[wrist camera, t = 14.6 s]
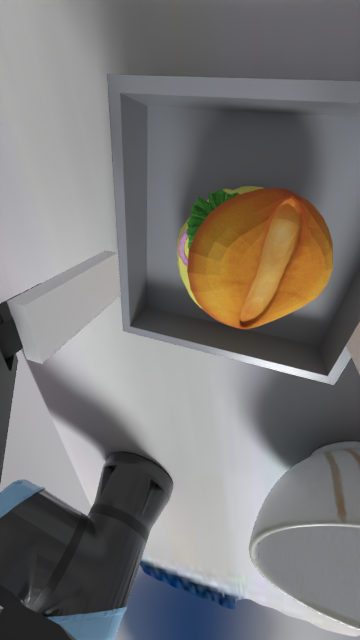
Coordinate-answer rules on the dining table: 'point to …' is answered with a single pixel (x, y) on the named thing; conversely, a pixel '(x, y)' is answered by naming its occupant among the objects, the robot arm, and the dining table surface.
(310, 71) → the dining table surface
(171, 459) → the dining table surface
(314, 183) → the bin
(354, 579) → the decorative bowl
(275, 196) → the cheeseburger
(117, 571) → the robot arm
